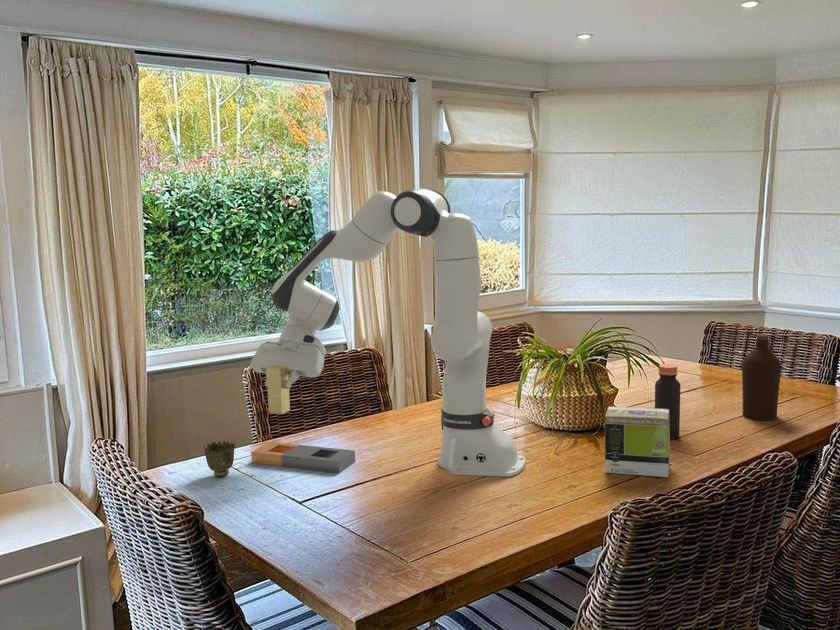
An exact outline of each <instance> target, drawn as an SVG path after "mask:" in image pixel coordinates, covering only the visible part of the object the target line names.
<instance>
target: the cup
mask: <svg viewBox="0 0 840 630" xmlns="http://www.w3.org/2000/svg"><path fill="white" fill-rule="evenodd" d="M206 446H207V447H206ZM206 446H203V449H204V454H205V460H206V464H207V467H208V468H209V469H210V470H211V471H212V472H213V475H214V476H215V478H224V477H227V476H228V474H229V473H230V472H229V469H231V468H232V466H233V465H234V458H235V446H236V445H235V442H234V443H233V442H232V441H231V442H229V441H226V440H224V441H223V442H221V441H218V442H215V441H212V442H211V443H207V444H206Z"/></svg>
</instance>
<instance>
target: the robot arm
mask: <svg viewBox="0 0 840 630" xmlns="http://www.w3.org/2000/svg"><path fill="white" fill-rule="evenodd" d="M451 211H452V210H451V205H450V202H449V200H448V199H447V198H446V196H445V195H443V194H442V193H441V192H439V191H436V190H431V189H427V188H410V189H406V190H404V191H402V192H400V193H399V194H398V195H397V196H396V194H394V193H391V192H390V191H386V190H379V191H375V192H374V193H373V194H372V195H371V196H370V197H369V198H368V199H367V200H366V201H365V202H364V203H363V204H362V206H360V208H359V209H358V210H357V212H356V213H355V214H354V215H353V217H352V218H351V220H350V221H349V223H347V224H346V225H345V226H343V227H342V228H339V229H335V230H329V231H328V232H326V233H324V235H323V236H321V237H320V238H319V239H318V240H317V241H316V242H315V243H314V244H313V245H312V246H311V247H310V248H309V249H308V250H307V251H306V252H305V253H304V255H303V256H302V257H300V259H299V260H298V261H297V262H296V263H295V264H294V265H293V266H292V267H291V268H289V269H288V271H286V272H285V273H284V274H283V275H282V276H281V277H280V278H278V280H277V281H276V282H275V283H274V284H273V287H272V289H271V292H270V298H271V301H272V303H273V304H274V307H275V308H277V309H279V310H281V311H283V312H286V313H288V314H289V315H288V320H287V323H286V324H285V326H284V327H283V329H282V332H281V334H280V337H279V339H278V341H271V340H270V341H266V342H263V343H261V344H260V345H259V347H258V348H257V350H256V351H255V353H254V355H253V357H252V359H251V361H250V366H251V368H252V369H253V370H254V372H255V373H261V374H262V373H263V374H265V377H266V378H265V379H266V380H265V382H264V386H265V387H266V388H268V384H267V368H269V367H271V366H274V365H280V366H288V368H287V369H288V373H289V379H288V380H284V383H283V387H284V388H285V389H289V390H290V389H291V387H292V384H294V383H295V382H296V381H297V380H298V379H299V377H307V378H317V377H319V376H320V375H321V373H322V372H323V371H322V370H323V368H324V364H325V356H326V354H327V350H326V347H325V346H324V344H323V343H322V342H321V340H320V339H319V338H318V337H316V336H315V335H316V333H317V332H323V331H325V330H328V329H331V328H332V327H333V325H334V324H335V322H336V319H337V317H338V315H339V311H340V310H341V307H340V304H339V300H338V298H336V297H335V296H334V295H333V294H330V293H328V292H327V291H325V290H323V289H322V288H319V287H317V286H316V285H314V284H313V283H311V282H309V281H307V280H306V278H307V277H308V276H309V275H310V274H311V273H312V272H313V271H314V270H315V269H316V268H317V267H318V266H319V265H320V264H321V263H322V262H324V261H325V260H326V261H327V260H330V259H331V260H332V259H335V260H336V259H337V260H343V261H344V260H345V261H349V262H350V261H351V262H355V263H356V262H357V263H364V262H370V261H373V260H375V259H376V258H377V257H379V255H380V254H381V253H382V252H383V251H384V249H386V247H387V245H388V243H390V241H391V240H392V238H393V236H394V235H395V234H396V232H398V230H401V231H402V232H405V233H408V234H409V235H410V234H411V235H416V236H418V237H423V238H428V237H429V238H430V240H431V241H432V245H433V252H434V262H435V263H434V265H435V266H434V267H435V278H436V301H435V302H436V303H435V310H434V311H435V312H434V326H433V331H432V334H431V338H430V345H431V348H432V350H433V352H434V354H435V355H436V356H437V358H439V359H440V360H442V361H445V369H444V373H443V376H442V379H441V380H442V381H441V382H442V383H441V385H442V390H441V391H442V409H441V410H440V411H441V415H440V426H441V430H442V436H441V446H440V452H439V456H438V460H437V464H438V465H439V467H441V468H443V469H444V470H446V471H447V472H448V473H449V474H451V475H456V476H457V475H458V476H459V475H460V476H479V477H480V476H483V477H504V478H505V477H506V478H507V477H513V476H515V475H517V474H519V473H521V472H522V471H523V470H524V469H525V467H526V466H527V460H526V457H525V456H524V455H522V454H518V450H517V445H516V442H515V439H514V438H513V437H512V436H510V435H509V434H508V433H506V432H505V431H503V429H501V428H500V427H498V425H496V424H495V421H494V420H495V418H494V417H495V416H496V414H495V413H496V411H494V410H493V411H492V412H491V411H490V410H489V409H488V408H487V389H486V387H487V386H486V385H487V382H486V381H487V372H488V371H487V369H488V363H489V355H490V344H491V343H490V342H491V338H492V333H493V325H492V322H491V320H490V318H489V317H488V316H487V314H486V313H484V312H481V311H479V301H480V295H481V292H482V291H481V290H482V279H481V265H480V263H481V262H480V253H479V244H478V238H477V233H476V230H475V226H474V222H473V221H472V219H471V217H469V216H468V215H466V214H463V213H458V212H453V213H452V212H451Z"/></svg>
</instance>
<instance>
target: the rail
mask: <svg viewBox="0 0 840 630" xmlns="http://www.w3.org/2000/svg"><path fill="white" fill-rule="evenodd" d="M250 453H251V454H250V455H251V463H252V464H256V465H257V464H259V465H267V466H268V465H269V466H274V467H285V468H291V469H301V470H307V471H308V470H309V471H319V472H324V473H325V472H327V473H335V474H341V473H342V472H343V471H344V470H346V469H347V468H349V467H350V466H352V465H353V464H354V463H355V462H356V451H355V450H352V449H342V448H334V447H326V446H325V447H324V446H317V445H316V446H315V445H304V444H295V443H286V442H276V441H269V442H267V443H265V444H263V445H262V446H259V447H258V448H256V449H254V450H252V451H251V452H250Z"/></svg>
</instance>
